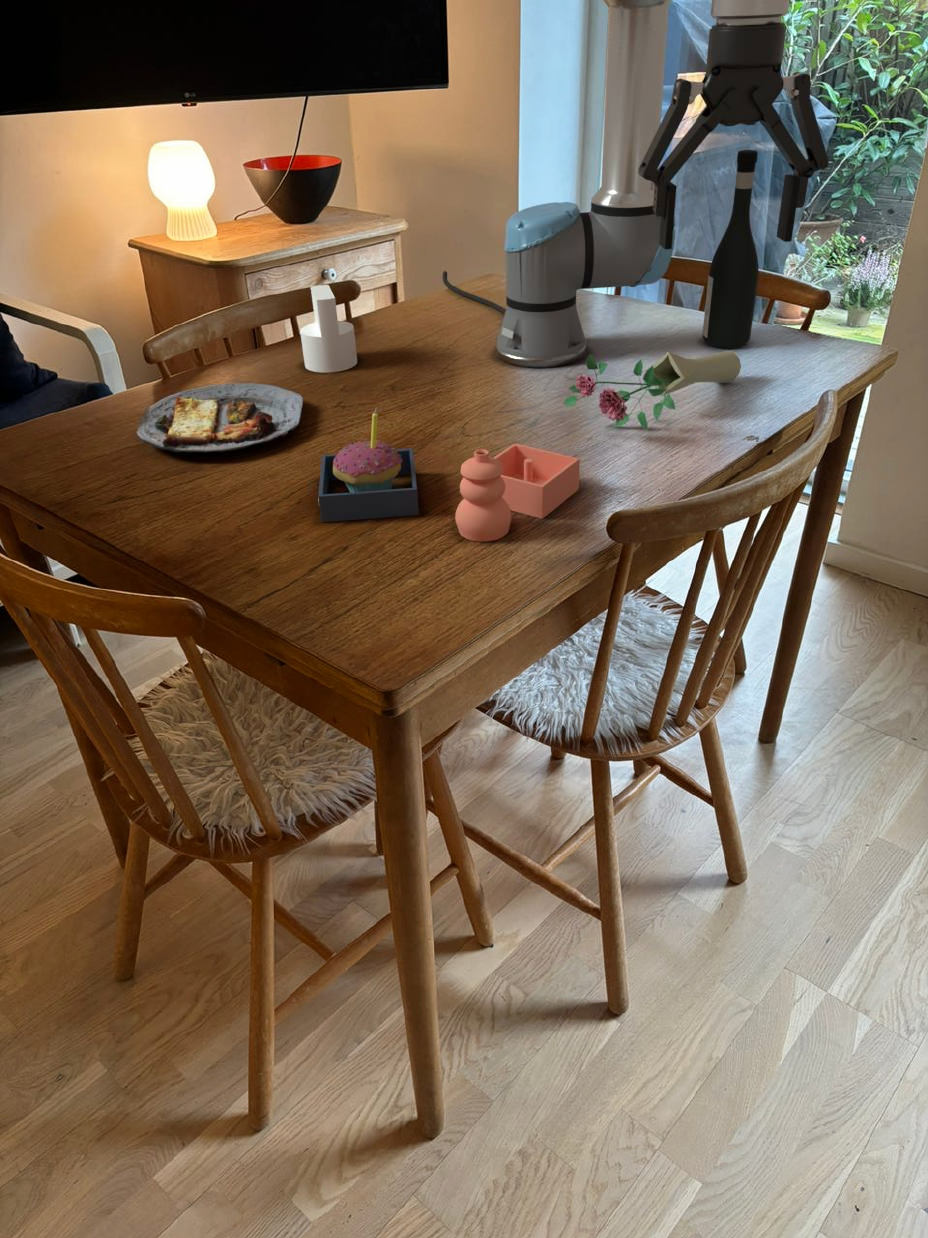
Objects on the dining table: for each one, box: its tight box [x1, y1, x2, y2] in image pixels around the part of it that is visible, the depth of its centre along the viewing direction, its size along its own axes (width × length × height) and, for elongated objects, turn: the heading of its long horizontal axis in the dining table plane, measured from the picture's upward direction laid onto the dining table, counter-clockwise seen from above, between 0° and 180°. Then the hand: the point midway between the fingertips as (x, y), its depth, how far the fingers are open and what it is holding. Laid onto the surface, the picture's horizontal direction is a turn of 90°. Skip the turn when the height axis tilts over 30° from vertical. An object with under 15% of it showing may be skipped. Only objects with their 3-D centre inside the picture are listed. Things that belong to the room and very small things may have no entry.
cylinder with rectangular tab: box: [299, 284, 358, 374], centre depth 159 cm, size 9×9×12 cm
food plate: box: [135, 382, 304, 454], centre depth 140 cm, size 25×23×4 cm
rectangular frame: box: [317, 448, 420, 523], centre depth 119 cm, size 12×12×4 cm
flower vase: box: [563, 350, 742, 431], centre depth 136 cm, size 12×12×35 cm
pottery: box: [454, 443, 581, 543], centre depth 113 cm, size 18×10×10 cm, turn 146°
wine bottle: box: [702, 149, 759, 349], centre depth 155 cm, size 8×8×30 cm
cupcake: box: [333, 407, 402, 493], centre depth 117 cm, size 9×8×12 cm
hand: (724, 243), depth 107 cm, fingers open, 13 cm apart
